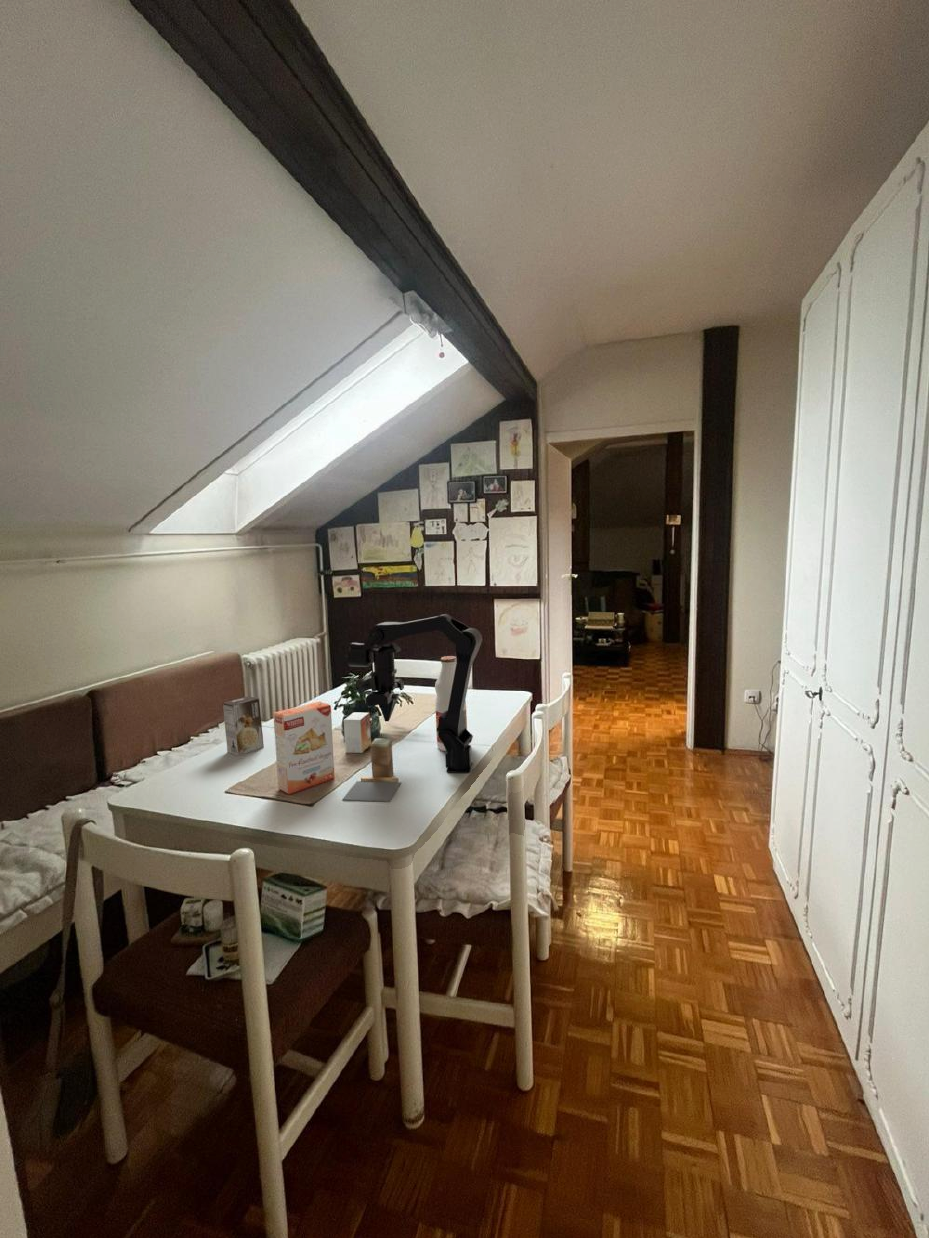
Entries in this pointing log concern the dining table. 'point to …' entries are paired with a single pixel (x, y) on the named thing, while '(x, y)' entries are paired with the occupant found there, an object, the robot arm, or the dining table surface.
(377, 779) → the kerb
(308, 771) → the cracker box
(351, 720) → the small box
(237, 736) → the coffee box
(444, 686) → the fruit juice
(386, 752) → the walnut block
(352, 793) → the mat
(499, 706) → the dining table surface
